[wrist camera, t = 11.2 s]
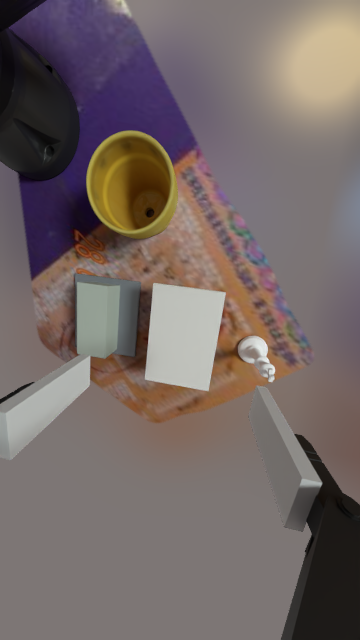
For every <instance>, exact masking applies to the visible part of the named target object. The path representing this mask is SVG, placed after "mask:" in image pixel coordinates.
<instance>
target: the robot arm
mask: <svg viewBox="0 0 360 640" xmlns="http://www.w3.org/2000/svg"><path fill="white" fill-rule="evenodd" d="M45 1H46V0H0V161H1V162H2V163H4V164H5V165H6V166H8V167H9V168H11V169H12V170H14V171H16V172H18V173H19V174H21V175H23V176H25V177H27V178H30V179H34V180H46V179H50V178H53V177H55V176H57V175H58V174H60V173H61V172H62V171H63V170H64V169H65V168H66V167H67V166H68V165H69V163H70V162H71V160H72V158H73V156H74V154H75V151H76V149H77V145H78V140H79V130H80V126H79V115H78V110H77V106H76V103H75V100H74V98H73V96H72V94H71V92H70V90H69V88H68V87H67V85H66V84H65V82H64V81H63V80H62V78H61V77H60V75H59V74H58V73H57V71H56V70H55V69H54V67H53V66H52V65H51V64H50V63H49V62H48V61H47V60H46V59H45V58H44V57H43V56H42V55H40V54H39V53H38V52H37V51H35V50H34V49H33V48H32V47H31V46H30V45H28V44H27V43H26V42H25V41H24V40H22V39H21V38H20V37H19V36H18V35H16V34H15V33H14V32H13V31H12V30H10V29H9V27H10V26H11V25H13V24H14V23H15V22H17V21H18V20H19V19H21V18H22V17H23V16H25V15H26V14H28V13H29V12H30V11H32V10H33V9H35V8H36V7H38V6H39V5H40V4H42V3H43V2H45ZM89 386H90V355H85V354H80V355H79V356H77V357H75V358H74V359H72V360H71V361H69V362H67V363H66V364H64V365H62V366H61V367H59V368H58V369H56V370H54V371H53V372H51V373H50V374H48V375H46V376H45V377H43V378H42V379H40V380H38V381H37V382H32V383H29V384H26V385H24V386H22V387H20V388H18V389H17V390H15V391H14V392H12V393H10V394H8V395H7V396H5V397H3V398H2V399H0V458H4V459H8V460H11V459H12V458H13V457H15V456H16V454H18V452H20V451H21V450H22V449H23V448H24V447H25V446H26V445H27V444H28V443H29V442H30V441H31V440H33V439H34V438H35V437H36V436H37V435H38V434H39V433H40V432H41V431H42V430H43V429H44V428H45V427H46V426H47V425H48V424H49V423H51V422H52V420H54V419H55V418H56V417H57V416H58V415H59V414H60V413H61V412H62V411H63V410H64V409H65V408H66V407H68V405H70V404H71V403H72V402H73V401H74V400H75V399H76V398H77V397H78V396H79V395H80V394H81V393H82V392H83V391H84V390H86V388H88V387H89ZM248 417H249V421H250V423H251V427H252V430H253V433H254V436H255V439H256V442H257V445H258V448H259V451H260V454H261V457H262V461H263V464H264V467H265V470H266V473H267V476H268V479H269V482H270V485H271V488H272V491H273V494H274V497H275V500H276V504H277V507H278V510H279V513H280V516H281V519H282V522H283V525H284V527H285V528H289V529H293V530H298V531H301V532H303V529H304V527H305V524H306V522H307V523H308V526H309V528H310V530H311V533H312V535H311V538H310V540H309V543H308V545H307V548H306V550H305V552H306V555H305V558H304V561H303V565H302V569H301V572H300V575H299V579H298V583H297V586H296V589H295V592H294V596H293V599H292V603H291V606H290V610H289V613H288V617H287V620H286V624H285V627H284V631H283V634H282V637H281V640H360V505H359V504H358V503H357V502H356V501H354V500H353V499H352V498H351V497H349V496H347V495H345V494H344V493H342V491H341V490H340V488H339V487H338V485H337V483H336V482H335V480H334V479H333V478H332V476H331V474H330V473H329V471H328V470H327V468H326V467H325V465H324V464H323V463H322V461H321V459H320V457H319V456H318V455H317V453H316V451H315V450H314V448H313V446H312V445H311V444H310V443H309V442H308V441H307V440H306V439H305V438H304V437H303V436H302V435H297V434H294V433H293V432H292V430H291V428H290V426H289V425H288V423H287V421H286V420H285V418H284V416H283V414H282V413H281V411H280V409H279V408H278V406H277V404H276V403H275V401H274V399H273V397H272V396H271V394H270V392H269V390H268V389H267V388H266V387H261V386H256V388H255V392H254V396H253V401H252V404H251V408H250V412H249V416H248Z"/></svg>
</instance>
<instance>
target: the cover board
mask: <svg viewBox="0 0 360 640" xmlns="http://www.w3.org/2000/svg"><path fill="white" fill-rule="evenodd" d="M225 295H226V292H221V291H213V290H206V289H198V288H191V287H183V286H176V285H168V284H160V283H153V294H152V305H151V316H150V328H149V339H148V350H147V361H146V372H145V380H150V381H156V382H161V383H167V384H172V385H178V386H183V387H189V388H194V389H199V390H205V391H208V390H209V384H210V379H211V373H212V368H213V362H214V356H215V351H216V345H217V340H218V334H219V328H220V323H221V317H222V312H223V306H224V300H225Z"/></svg>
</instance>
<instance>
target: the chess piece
mask: <svg viewBox="0 0 360 640" xmlns="http://www.w3.org/2000/svg"><path fill="white" fill-rule="evenodd" d="M267 352H268V348H267V345H266V343H265V341H264V340H263V339H262V338H260V337H258V336H248V337H246V338H244V339H243V340H242V341H241V342H240V343H239V345H238V354H239V356H240V357H241V358H242V359H243V360H244V361H246V362H248V363H254V365H255V367H256V368H258V369H259V372H260V374H261V375H262V376H263V377H268V381H269V382H273V380H274V375H273V374H274V373H275V368H274V366H273V365H272V364H270V363H269V359H268V358H267V357H266V355H267Z"/></svg>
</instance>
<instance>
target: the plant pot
mask: <svg viewBox="0 0 360 640" xmlns="http://www.w3.org/2000/svg"><path fill="white" fill-rule="evenodd" d="M86 187H87V194H88V198H89V201H90V204H91V206H92V209H93V211H94V212H95V214H96V215H97V217H98V218H99V219H100V220H101V222H102V223H103V224H105V225H106V226H107V227H108V228H110V229H111V230H113V231H115V232H117V233H119V234H121V235H124V236H126V237H130V238H134V239H144V238H148V237H151V236H154V235H156V234H159V233H161V232H163V231H164V230H165V229H166V228H167V226H168V225H169V223H170V221H171V219H172V217H173V215H174V212H175V210H176V206H177V200H178V188H177V181H176V176H175V173H174V169H173V166H172V163H171V160H170V158H169V156H168V154H167V153H166V151H165V150H164V148H163V147H162V146H161V145H160V144H159V143H158V142H157V141H156V140H155V139H154V138H152V137H151V136H149V135H147V134H145V133H142V132H138V131H122V132H119V133H116V134H114V135H112V136H110V137H108V138H107V139H106V140H104V141H103V142H102V143H101V144H100V145H99V147H98V148H97V149H96V151H95V152H94V154H93V156H92V158H91V160H90V163H89V166H88V170H87V177H86ZM150 209H152V210H153V211H154V215H153V216H152V217H148V216H147V211H148V210H150Z"/></svg>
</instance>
